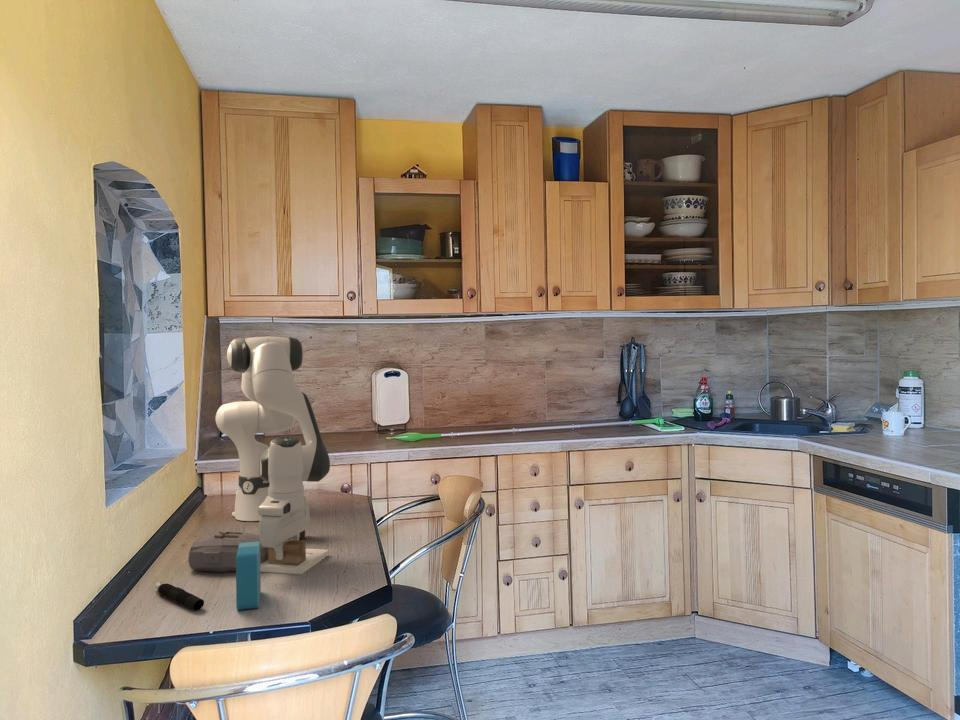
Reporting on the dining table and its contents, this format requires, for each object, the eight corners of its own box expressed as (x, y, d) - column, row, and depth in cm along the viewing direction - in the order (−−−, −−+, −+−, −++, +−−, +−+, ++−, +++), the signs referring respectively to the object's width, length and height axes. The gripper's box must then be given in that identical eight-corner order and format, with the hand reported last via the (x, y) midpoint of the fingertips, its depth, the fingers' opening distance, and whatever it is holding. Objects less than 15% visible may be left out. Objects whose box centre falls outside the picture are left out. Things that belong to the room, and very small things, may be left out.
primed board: (288, 552, 186) (287, 547, 186) (328, 555, 184) (328, 549, 184) (257, 571, 171) (257, 565, 171) (301, 574, 168) (301, 568, 168)
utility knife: (146, 591, 157) (146, 579, 157) (163, 587, 160) (163, 574, 160) (193, 614, 143) (193, 600, 143) (211, 608, 146) (210, 594, 146)
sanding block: (277, 558, 176) (277, 539, 176) (305, 560, 175) (305, 540, 175) (268, 563, 172) (268, 544, 172) (297, 565, 170) (297, 545, 170)
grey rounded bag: (182, 574, 168) (262, 574, 168) (181, 541, 168) (262, 540, 168) (206, 556, 183) (280, 555, 184) (205, 525, 183) (279, 525, 183)
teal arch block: (240, 593, 155) (239, 541, 155) (260, 591, 157) (260, 539, 156) (236, 612, 144) (235, 556, 144) (258, 610, 145) (258, 554, 145)
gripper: (294, 492, 184) (294, 543, 184) (254, 509, 164) (254, 566, 164) (315, 493, 183) (316, 544, 183) (278, 510, 163) (278, 568, 163)
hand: (286, 555), depth 173 cm, fingers open, 5 cm apart
